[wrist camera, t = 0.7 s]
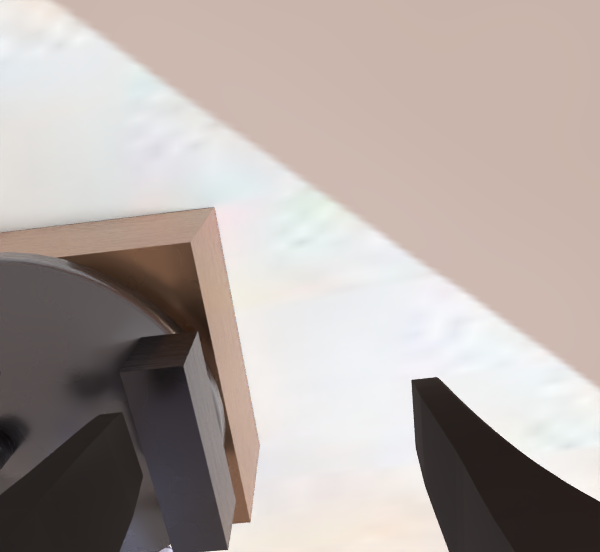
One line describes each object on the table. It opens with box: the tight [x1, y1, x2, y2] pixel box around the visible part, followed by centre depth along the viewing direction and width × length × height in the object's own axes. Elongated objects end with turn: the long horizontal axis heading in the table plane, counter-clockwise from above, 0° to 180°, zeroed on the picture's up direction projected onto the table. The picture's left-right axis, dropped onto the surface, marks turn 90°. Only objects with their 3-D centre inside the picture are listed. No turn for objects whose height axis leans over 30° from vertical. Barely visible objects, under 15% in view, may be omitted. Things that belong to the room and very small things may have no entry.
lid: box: [0, 252, 236, 552], centre depth 17 cm, size 13×13×3 cm
